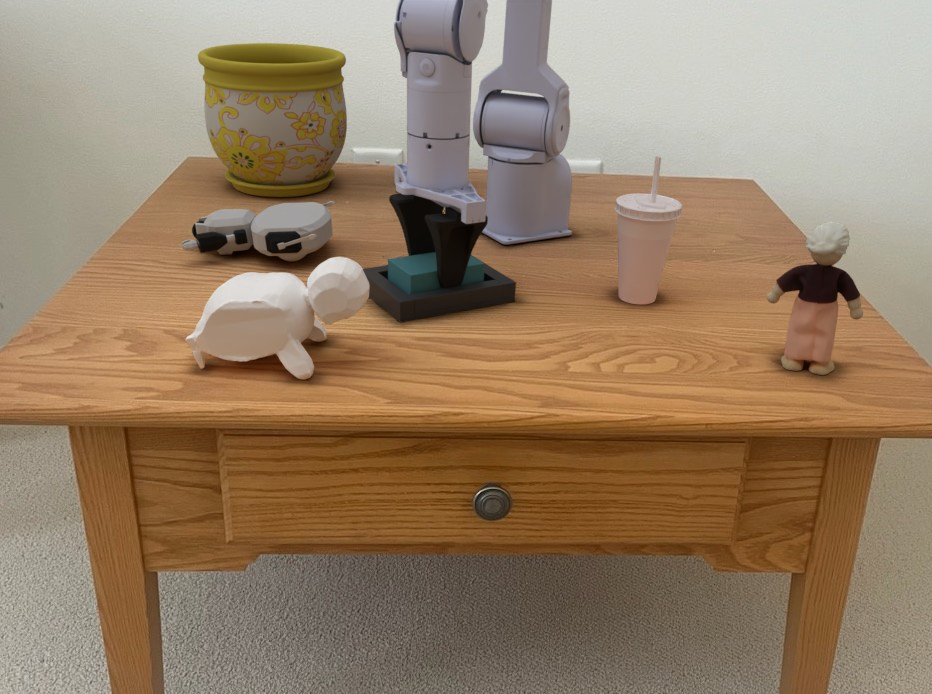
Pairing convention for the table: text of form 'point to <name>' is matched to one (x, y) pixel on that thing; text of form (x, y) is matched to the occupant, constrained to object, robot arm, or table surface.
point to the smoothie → (644, 240)
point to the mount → (438, 295)
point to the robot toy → (265, 230)
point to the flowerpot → (275, 115)
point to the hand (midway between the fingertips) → (436, 275)
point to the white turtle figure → (278, 314)
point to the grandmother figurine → (817, 300)
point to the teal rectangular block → (426, 272)
